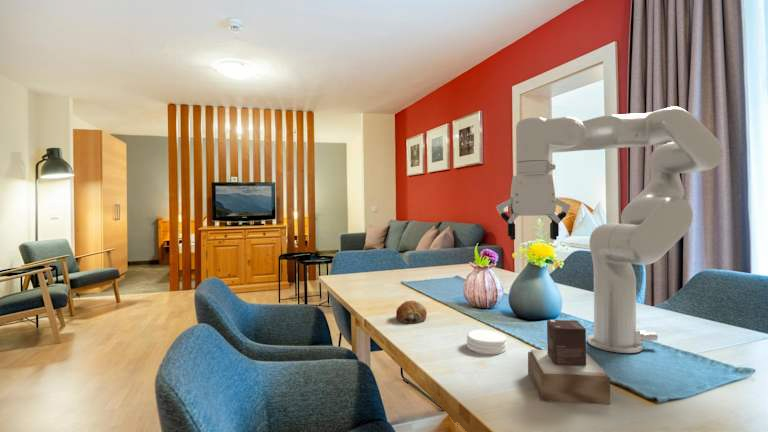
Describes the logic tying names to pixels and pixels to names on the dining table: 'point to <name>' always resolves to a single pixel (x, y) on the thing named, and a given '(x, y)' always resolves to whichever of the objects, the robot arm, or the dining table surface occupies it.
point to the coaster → (486, 342)
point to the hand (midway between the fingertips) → (532, 239)
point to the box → (566, 342)
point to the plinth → (568, 380)
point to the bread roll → (411, 312)
